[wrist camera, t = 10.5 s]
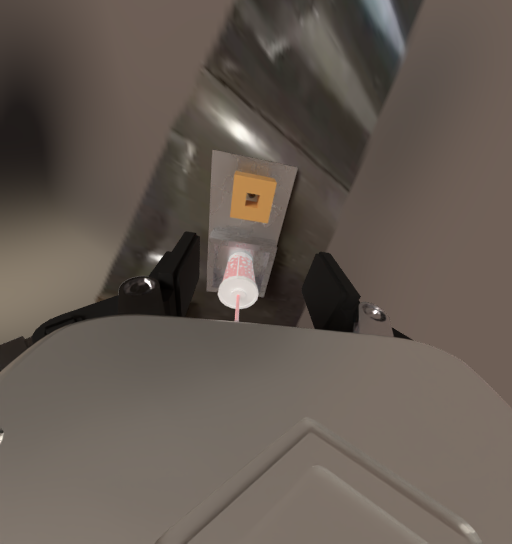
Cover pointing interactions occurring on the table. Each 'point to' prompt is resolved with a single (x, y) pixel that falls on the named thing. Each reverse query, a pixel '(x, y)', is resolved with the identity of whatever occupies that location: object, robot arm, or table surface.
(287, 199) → the gray tray
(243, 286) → the beverage cup
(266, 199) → the amber wooden brick
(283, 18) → the table surface
